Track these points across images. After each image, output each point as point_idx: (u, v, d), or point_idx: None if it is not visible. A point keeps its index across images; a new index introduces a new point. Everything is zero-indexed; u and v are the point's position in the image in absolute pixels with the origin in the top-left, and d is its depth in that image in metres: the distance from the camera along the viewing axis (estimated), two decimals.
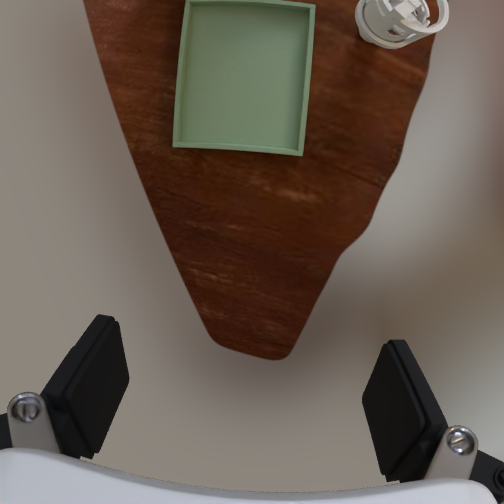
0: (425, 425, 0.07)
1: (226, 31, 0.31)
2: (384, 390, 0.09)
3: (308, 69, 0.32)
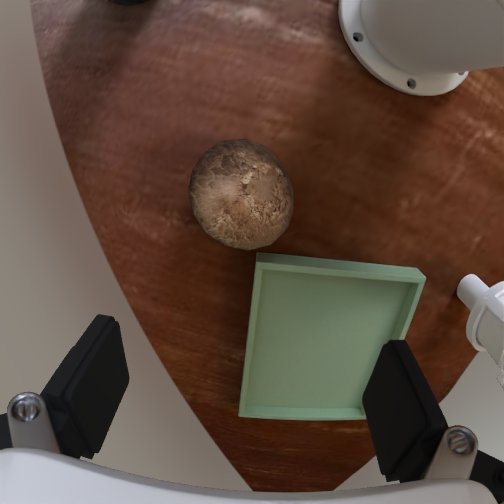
0: (425, 425, 0.07)
1: (308, 305, 0.28)
2: (384, 390, 0.09)
3: None
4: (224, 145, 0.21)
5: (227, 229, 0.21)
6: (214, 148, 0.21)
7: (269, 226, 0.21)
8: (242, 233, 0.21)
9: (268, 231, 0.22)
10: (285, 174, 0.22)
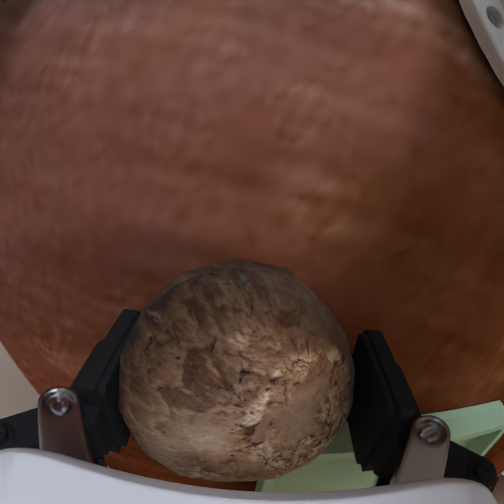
0: (394, 413, 0.07)
1: (346, 468, 0.15)
2: (359, 379, 0.10)
3: None
4: (190, 303, 0.08)
5: (215, 479, 0.08)
6: (164, 309, 0.08)
7: (303, 463, 0.08)
8: (246, 480, 0.08)
9: (300, 467, 0.09)
10: (345, 350, 0.09)
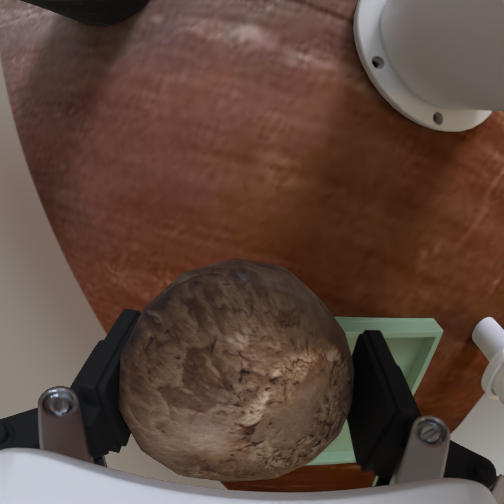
0: (394, 413, 0.07)
1: None
2: (359, 379, 0.10)
3: None
4: (190, 303, 0.08)
5: (214, 478, 0.08)
6: (165, 309, 0.08)
7: (303, 463, 0.08)
8: (246, 479, 0.08)
9: (299, 466, 0.09)
10: (344, 349, 0.09)
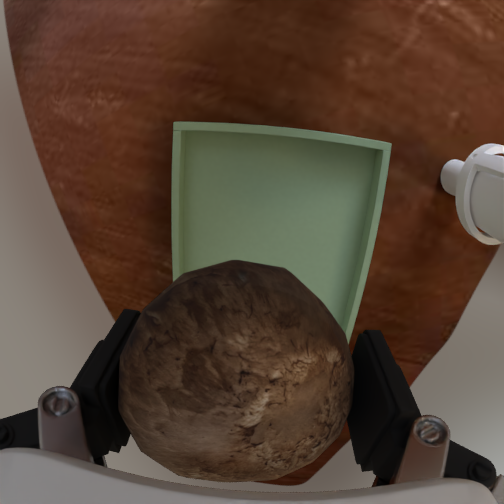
0: (394, 413, 0.07)
1: (245, 184, 0.23)
2: (359, 379, 0.10)
3: (368, 257, 0.24)
4: (190, 304, 0.08)
5: (214, 479, 0.08)
6: (164, 310, 0.08)
7: (303, 464, 0.08)
8: (246, 480, 0.08)
9: (299, 467, 0.09)
10: (344, 350, 0.09)
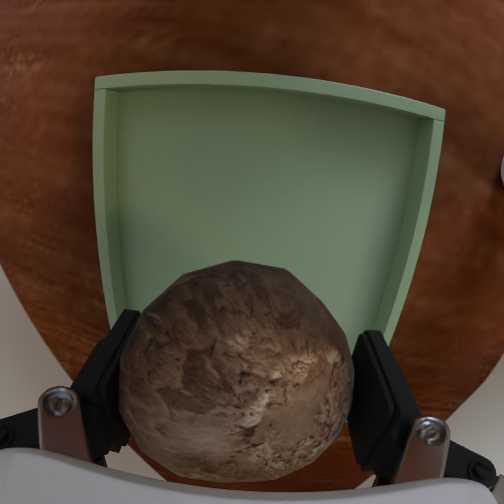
0: (394, 413, 0.07)
1: (209, 171, 0.14)
2: (359, 379, 0.10)
3: (403, 289, 0.14)
4: (190, 305, 0.08)
5: (214, 479, 0.08)
6: (164, 310, 0.08)
7: (303, 464, 0.08)
8: (246, 480, 0.08)
9: (299, 467, 0.09)
10: (344, 351, 0.09)
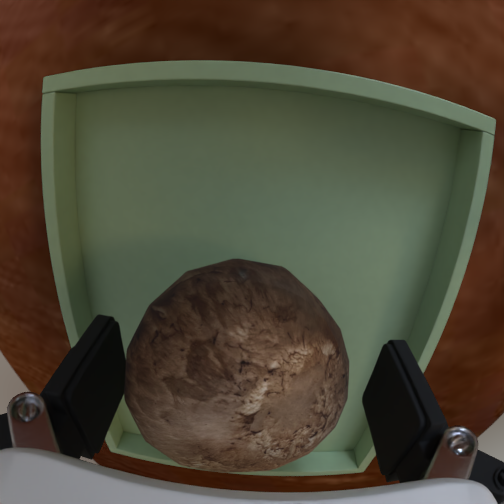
0: (425, 425, 0.07)
1: (189, 197, 0.11)
2: (384, 390, 0.09)
3: (432, 341, 0.11)
4: (194, 299, 0.08)
5: (215, 469, 0.08)
6: (169, 305, 0.08)
7: (300, 454, 0.09)
8: (246, 470, 0.09)
9: (297, 458, 0.09)
10: (339, 344, 0.09)
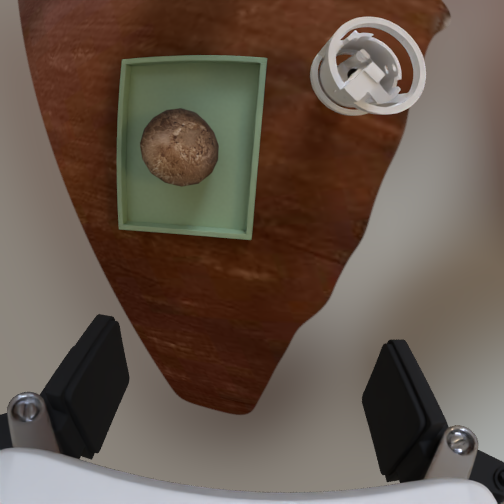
0: (425, 425, 0.07)
1: (167, 97, 0.30)
2: (384, 390, 0.09)
3: (256, 141, 0.31)
4: (164, 112, 0.28)
5: (165, 168, 0.28)
6: (158, 115, 0.28)
7: (194, 165, 0.28)
8: (175, 171, 0.28)
9: (194, 169, 0.29)
10: (209, 130, 0.29)
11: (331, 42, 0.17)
